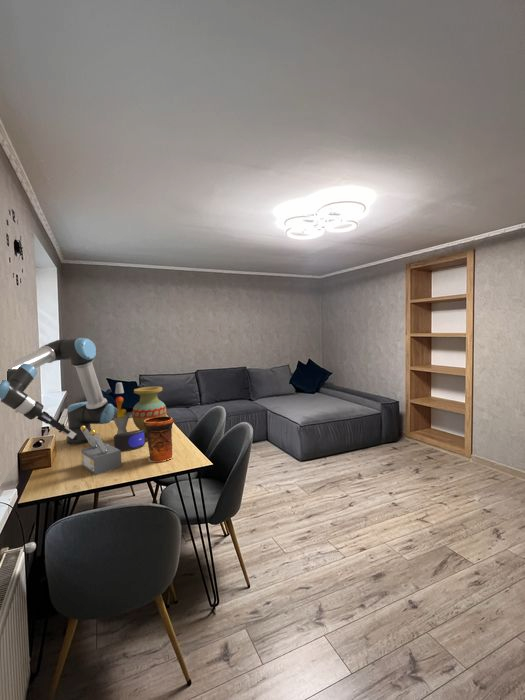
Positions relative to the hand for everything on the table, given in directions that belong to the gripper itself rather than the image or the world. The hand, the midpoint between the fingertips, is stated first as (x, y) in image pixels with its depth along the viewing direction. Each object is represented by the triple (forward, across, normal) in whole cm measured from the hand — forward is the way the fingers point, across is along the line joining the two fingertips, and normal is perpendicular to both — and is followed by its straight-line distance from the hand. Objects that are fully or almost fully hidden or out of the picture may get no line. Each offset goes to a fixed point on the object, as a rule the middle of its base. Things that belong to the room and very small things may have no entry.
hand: (74, 436), depth 162 cm
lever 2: (+12, +12, +1) cm, 17 cm away
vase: (+45, -17, +22) cm, 53 cm away
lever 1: (+12, 0, +1) cm, 12 cm away
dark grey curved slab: (+33, -8, +10) cm, 35 cm away
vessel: (+35, +19, +12) cm, 42 cm away
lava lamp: (+35, -25, +12) cm, 45 cm away
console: (+18, +6, -5) cm, 19 cm away
